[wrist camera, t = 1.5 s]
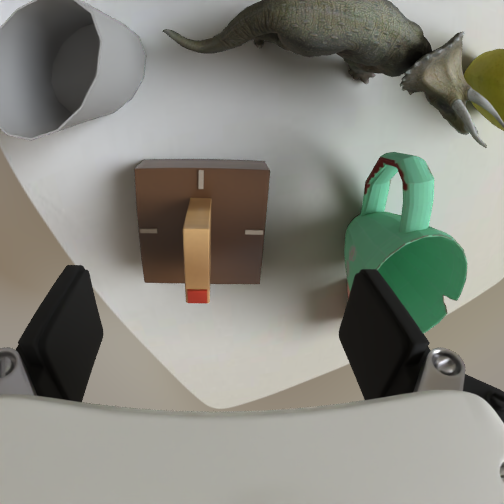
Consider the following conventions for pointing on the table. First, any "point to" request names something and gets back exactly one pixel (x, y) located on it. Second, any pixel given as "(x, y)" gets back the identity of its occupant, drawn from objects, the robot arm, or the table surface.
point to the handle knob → (197, 250)
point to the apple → (488, 82)
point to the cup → (64, 67)
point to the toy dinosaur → (359, 47)
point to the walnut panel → (222, 216)
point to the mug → (406, 241)
